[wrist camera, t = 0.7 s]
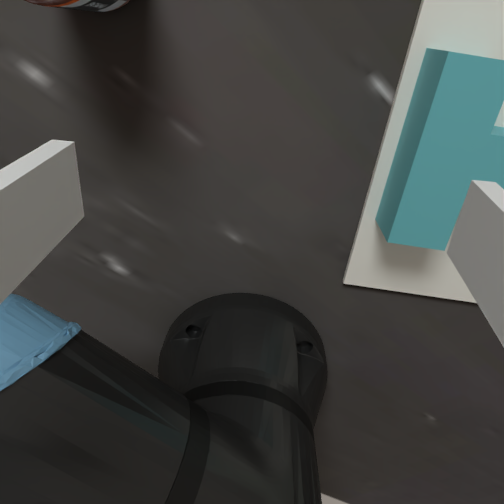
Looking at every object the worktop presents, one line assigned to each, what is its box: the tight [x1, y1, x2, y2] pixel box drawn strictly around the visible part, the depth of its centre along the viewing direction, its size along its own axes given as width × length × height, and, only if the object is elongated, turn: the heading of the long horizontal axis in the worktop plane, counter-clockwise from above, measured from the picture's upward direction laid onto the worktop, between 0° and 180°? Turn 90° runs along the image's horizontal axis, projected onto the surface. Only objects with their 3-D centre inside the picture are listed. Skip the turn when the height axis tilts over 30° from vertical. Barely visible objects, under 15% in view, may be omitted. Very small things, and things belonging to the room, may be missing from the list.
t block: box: [375, 48, 504, 251], centre depth 29 cm, size 12×12×4 cm
